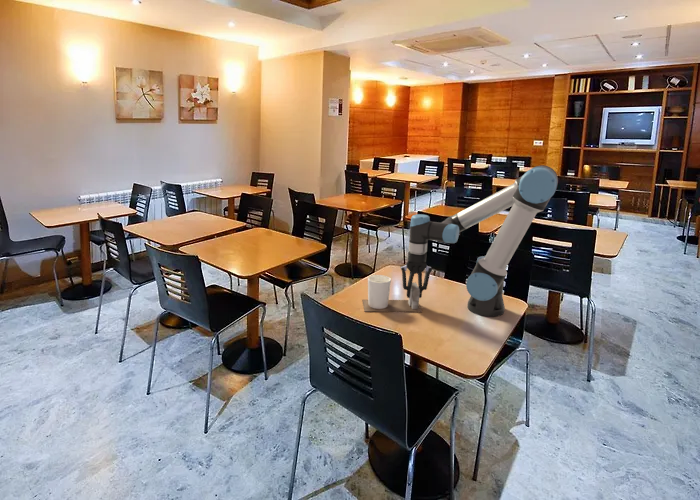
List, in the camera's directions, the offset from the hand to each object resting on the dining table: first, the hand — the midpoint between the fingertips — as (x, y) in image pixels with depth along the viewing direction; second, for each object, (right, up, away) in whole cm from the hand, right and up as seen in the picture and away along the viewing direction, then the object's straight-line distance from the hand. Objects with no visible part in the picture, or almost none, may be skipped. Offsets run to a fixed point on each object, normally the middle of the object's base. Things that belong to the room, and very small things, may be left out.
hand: (413, 304), depth 189 cm
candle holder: (-15, 0, -1) cm, 15 cm away
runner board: (-10, -1, 0) cm, 10 cm away
